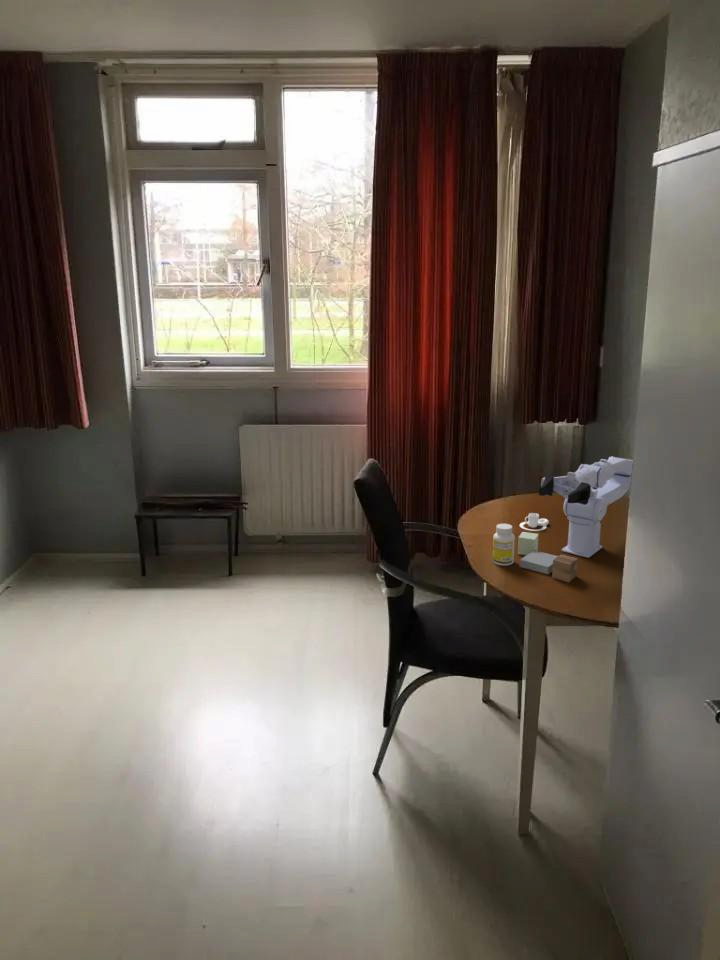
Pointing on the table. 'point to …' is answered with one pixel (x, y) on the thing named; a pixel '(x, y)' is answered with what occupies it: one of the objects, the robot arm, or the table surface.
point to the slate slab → (538, 562)
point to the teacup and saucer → (534, 522)
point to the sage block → (527, 543)
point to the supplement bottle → (503, 545)
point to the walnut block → (564, 568)
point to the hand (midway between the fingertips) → (554, 495)
